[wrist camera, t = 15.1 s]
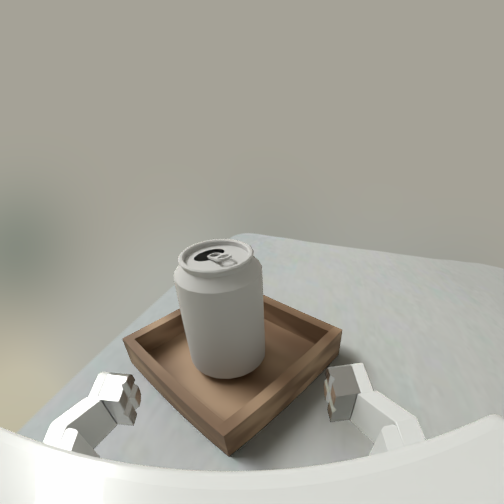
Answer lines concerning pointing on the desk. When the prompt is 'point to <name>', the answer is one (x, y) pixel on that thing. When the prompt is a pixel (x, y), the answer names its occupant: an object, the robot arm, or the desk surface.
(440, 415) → the desk surface
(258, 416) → the tray
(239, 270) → the can
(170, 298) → the desk surface
